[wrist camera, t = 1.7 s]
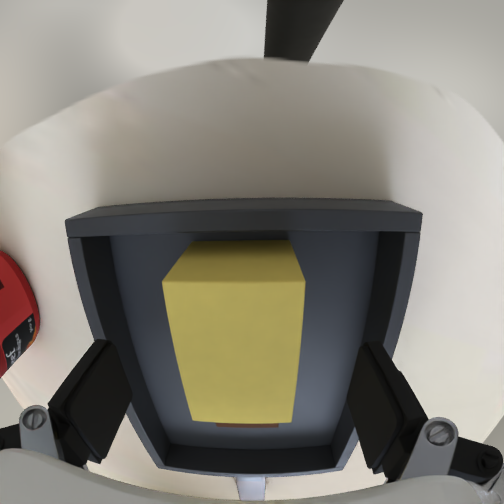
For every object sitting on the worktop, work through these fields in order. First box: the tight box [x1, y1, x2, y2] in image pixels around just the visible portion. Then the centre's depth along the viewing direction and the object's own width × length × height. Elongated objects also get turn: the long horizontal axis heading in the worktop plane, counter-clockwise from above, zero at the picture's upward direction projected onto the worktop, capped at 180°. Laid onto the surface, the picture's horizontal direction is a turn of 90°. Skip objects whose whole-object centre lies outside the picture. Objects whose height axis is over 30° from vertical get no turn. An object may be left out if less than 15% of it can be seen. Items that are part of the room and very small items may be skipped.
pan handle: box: [235, 477, 266, 501], centre depth 19 cm, size 11×3×3 cm, turn 1°
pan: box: [65, 198, 423, 477], centre depth 14 cm, size 20×15×3 cm
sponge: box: [162, 240, 306, 424], centre depth 11 cm, size 7×4×4 cm, turn 1°
